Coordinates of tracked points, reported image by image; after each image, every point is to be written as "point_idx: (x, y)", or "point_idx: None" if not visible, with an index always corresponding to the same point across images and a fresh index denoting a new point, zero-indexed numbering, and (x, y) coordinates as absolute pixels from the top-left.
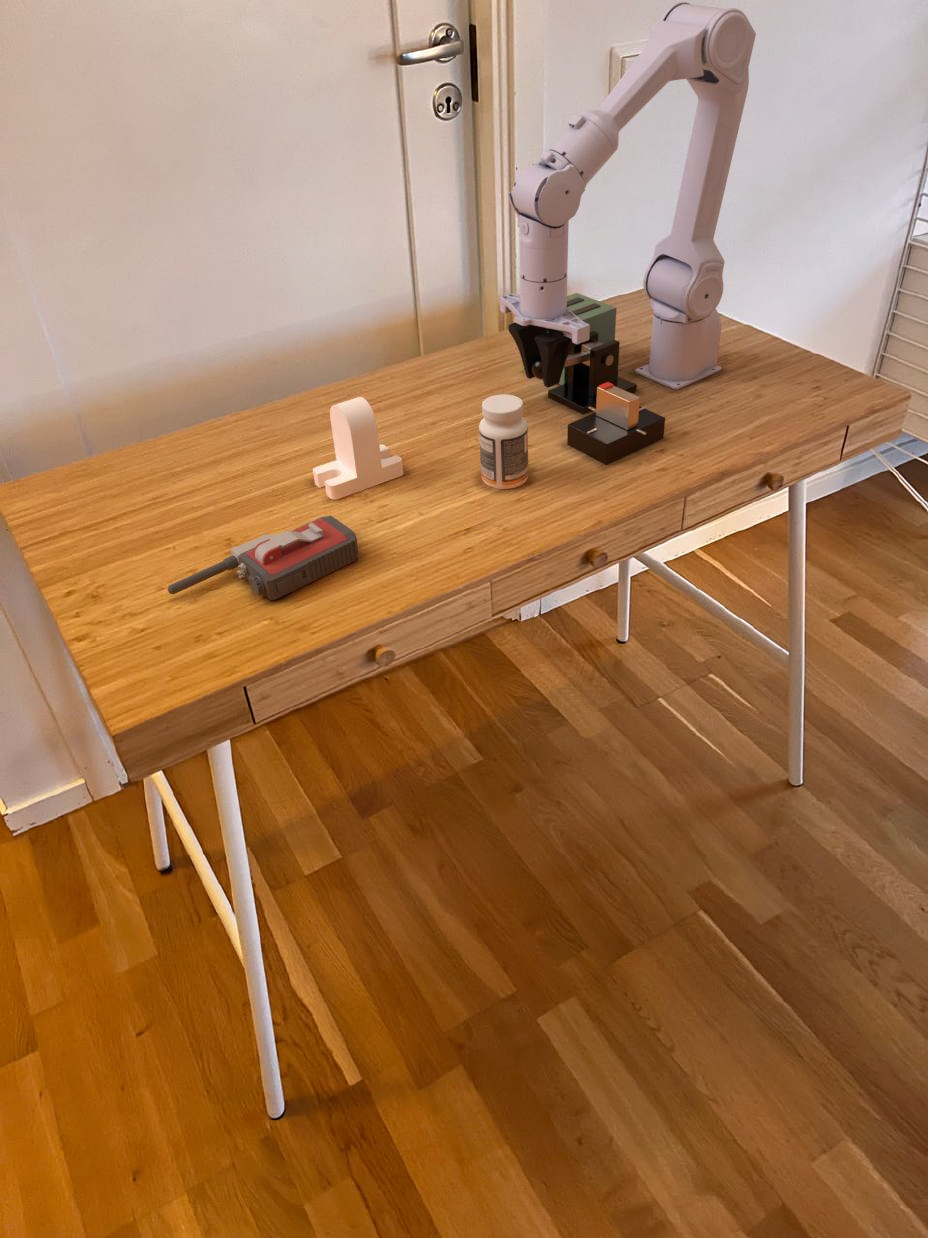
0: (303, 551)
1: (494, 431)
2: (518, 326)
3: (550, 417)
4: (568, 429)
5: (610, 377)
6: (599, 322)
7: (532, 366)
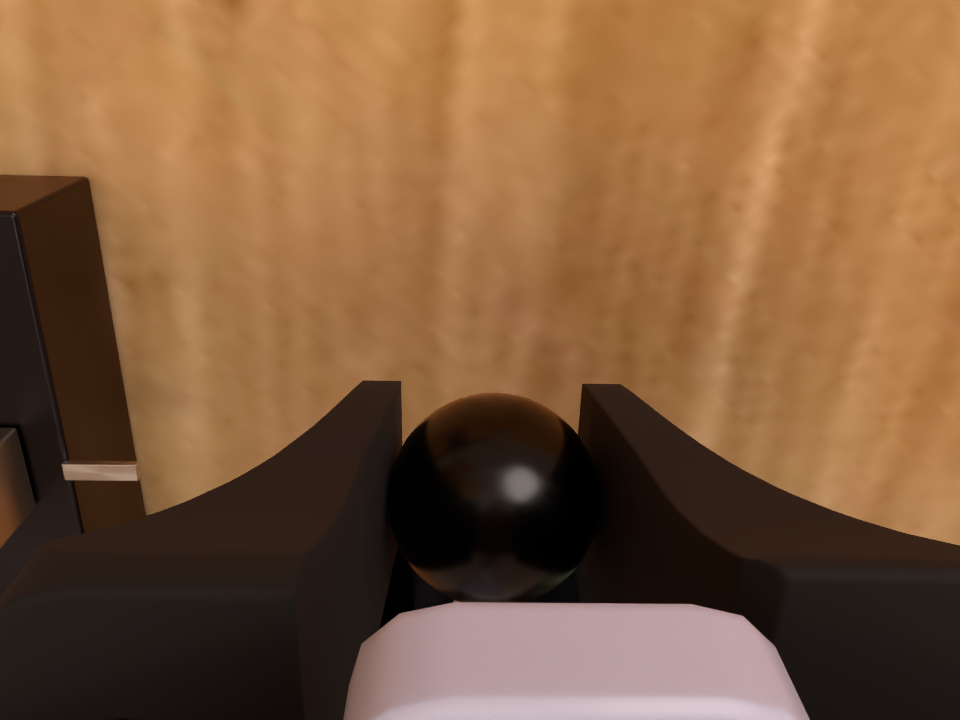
0: None
1: None
2: (871, 681)
3: (443, 345)
4: (25, 203)
5: None
6: None
7: (538, 429)
